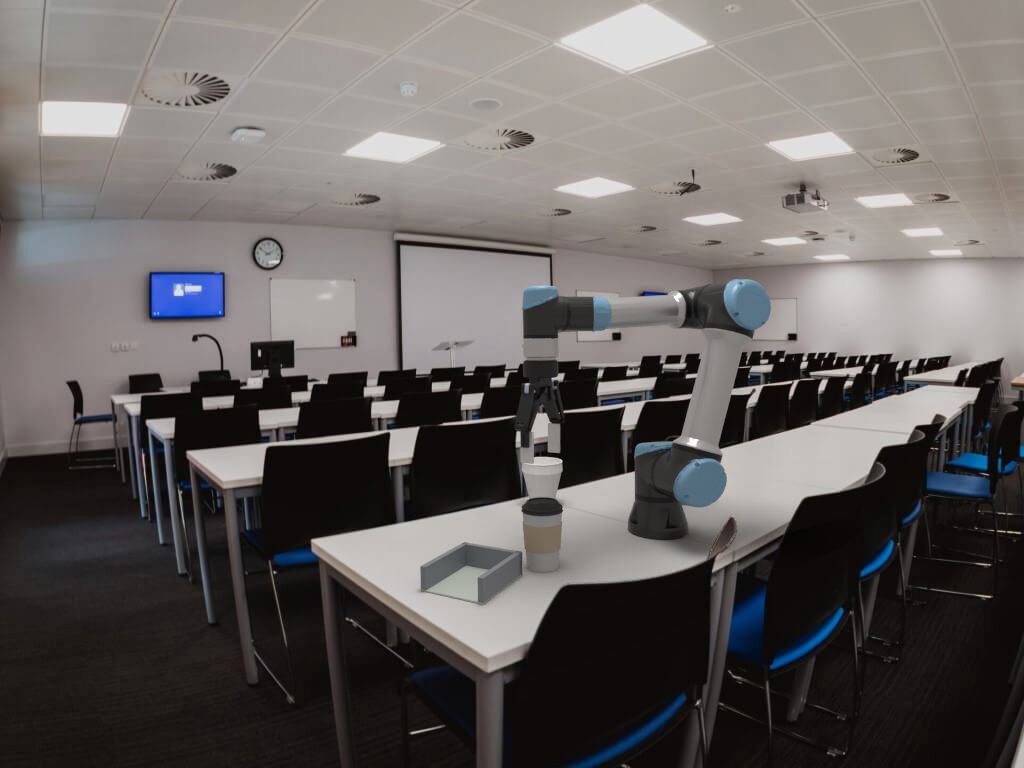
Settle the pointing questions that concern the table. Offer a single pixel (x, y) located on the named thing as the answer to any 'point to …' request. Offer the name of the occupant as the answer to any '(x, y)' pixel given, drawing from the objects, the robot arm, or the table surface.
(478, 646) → the table surface
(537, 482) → the cup
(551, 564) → the coffee cup
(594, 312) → the robot arm
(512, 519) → the table surface
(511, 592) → the table surface
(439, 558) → the u rest
